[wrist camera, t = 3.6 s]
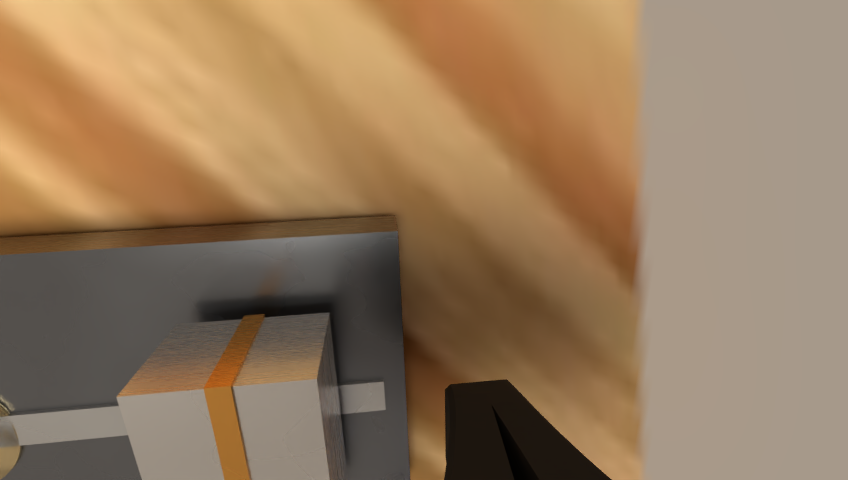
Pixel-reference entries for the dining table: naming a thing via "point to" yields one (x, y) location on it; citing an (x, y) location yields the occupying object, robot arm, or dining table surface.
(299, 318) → the block
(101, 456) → the plate
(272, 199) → the dining table surface
